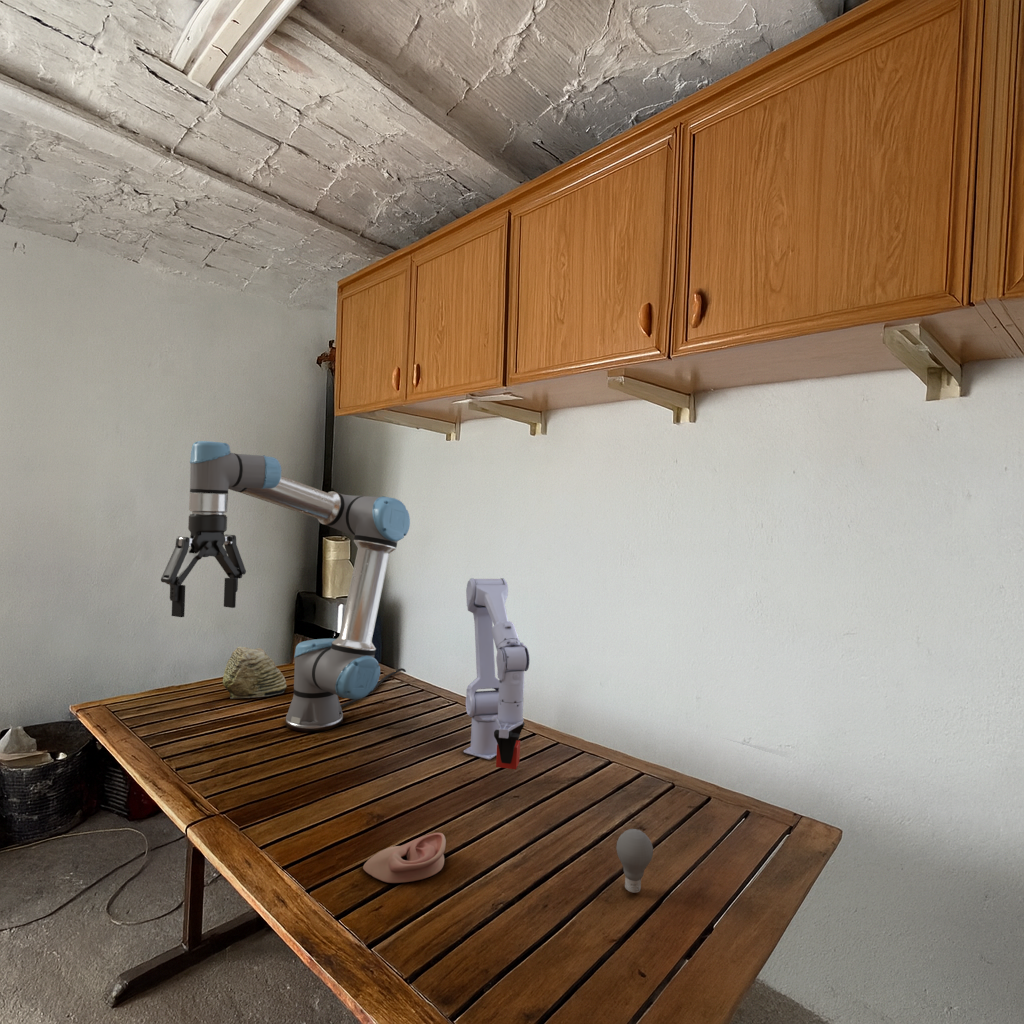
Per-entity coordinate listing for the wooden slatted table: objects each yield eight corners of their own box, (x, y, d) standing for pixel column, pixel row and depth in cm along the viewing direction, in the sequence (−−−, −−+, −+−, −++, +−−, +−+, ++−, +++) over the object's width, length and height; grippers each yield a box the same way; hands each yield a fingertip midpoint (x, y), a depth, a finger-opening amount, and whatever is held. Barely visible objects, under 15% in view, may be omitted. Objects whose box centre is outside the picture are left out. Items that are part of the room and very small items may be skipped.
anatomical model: (355, 854, 106) (383, 820, 117) (354, 877, 106) (382, 841, 117) (431, 866, 103) (452, 831, 114) (430, 890, 103) (451, 852, 114)
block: (499, 759, 147) (500, 738, 147) (519, 762, 146) (520, 740, 146) (495, 767, 142) (496, 745, 142) (516, 769, 142) (517, 747, 142)
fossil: (218, 695, 195) (220, 647, 195) (278, 685, 208) (279, 640, 207) (228, 703, 189) (230, 653, 188) (289, 692, 201) (290, 645, 201)
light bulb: (610, 879, 108) (613, 822, 108) (644, 879, 109) (647, 822, 109) (619, 902, 102) (622, 840, 102) (655, 901, 103) (658, 840, 103)
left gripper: (239, 512, 149) (236, 602, 150) (143, 512, 126) (139, 618, 127) (264, 514, 147) (260, 605, 147) (170, 514, 124) (167, 622, 124)
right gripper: (500, 688, 152) (497, 744, 152) (486, 707, 138) (483, 769, 138) (529, 691, 150) (526, 747, 151) (518, 710, 136) (515, 773, 136)
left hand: (204, 611), depth 137 cm, fingers open, 13 cm apart
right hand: (508, 758), depth 144 cm, fingers closed on block, 4 cm apart
